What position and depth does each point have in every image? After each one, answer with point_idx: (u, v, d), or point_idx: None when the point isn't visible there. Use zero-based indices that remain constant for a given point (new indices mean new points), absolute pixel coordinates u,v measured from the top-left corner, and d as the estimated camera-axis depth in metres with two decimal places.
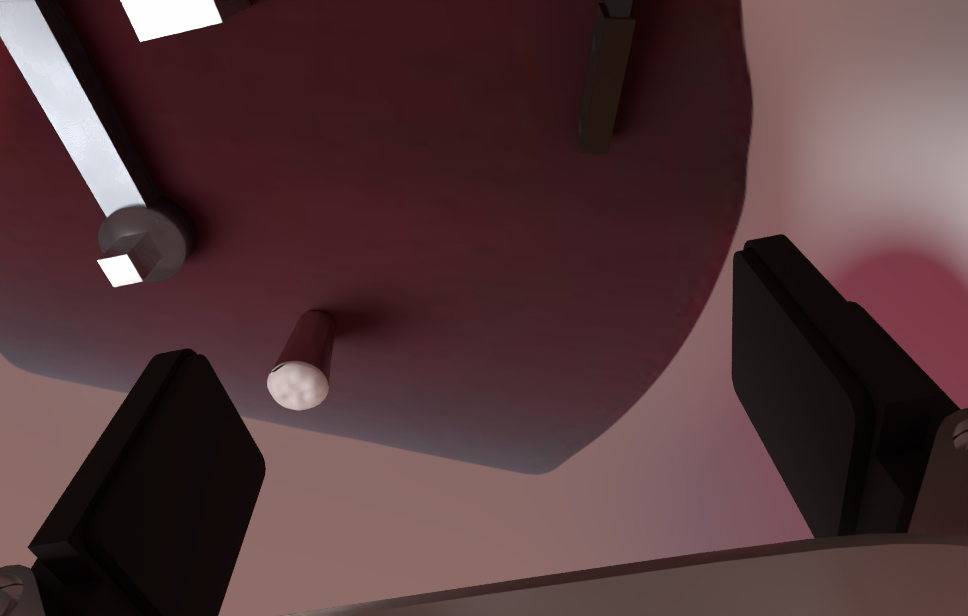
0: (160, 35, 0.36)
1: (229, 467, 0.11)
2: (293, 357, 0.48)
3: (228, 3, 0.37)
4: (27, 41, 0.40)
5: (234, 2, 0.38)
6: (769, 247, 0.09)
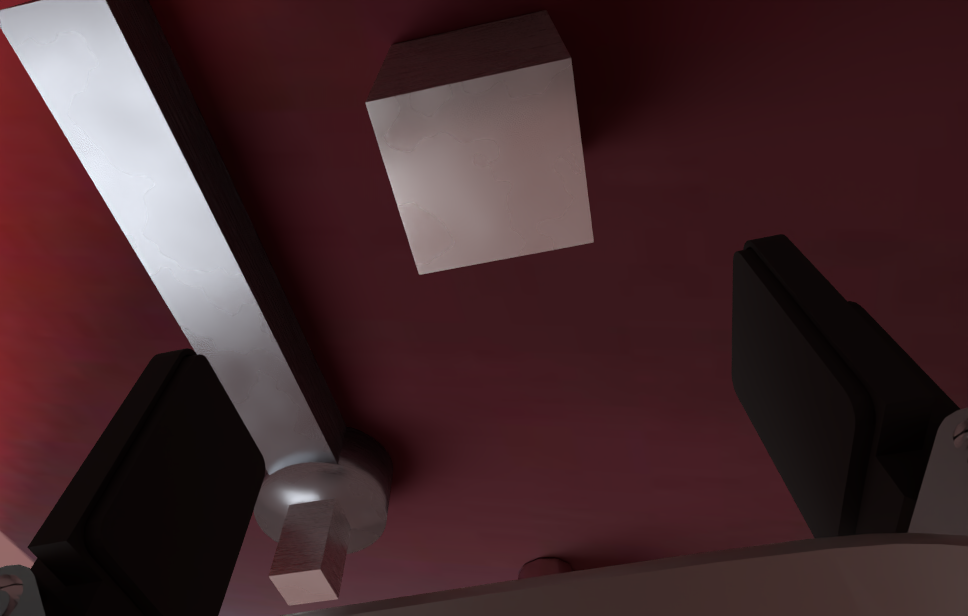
0: (462, 264, 0.18)
1: (229, 467, 0.11)
2: None
3: None
4: (169, 236, 0.21)
5: None
6: (769, 247, 0.09)
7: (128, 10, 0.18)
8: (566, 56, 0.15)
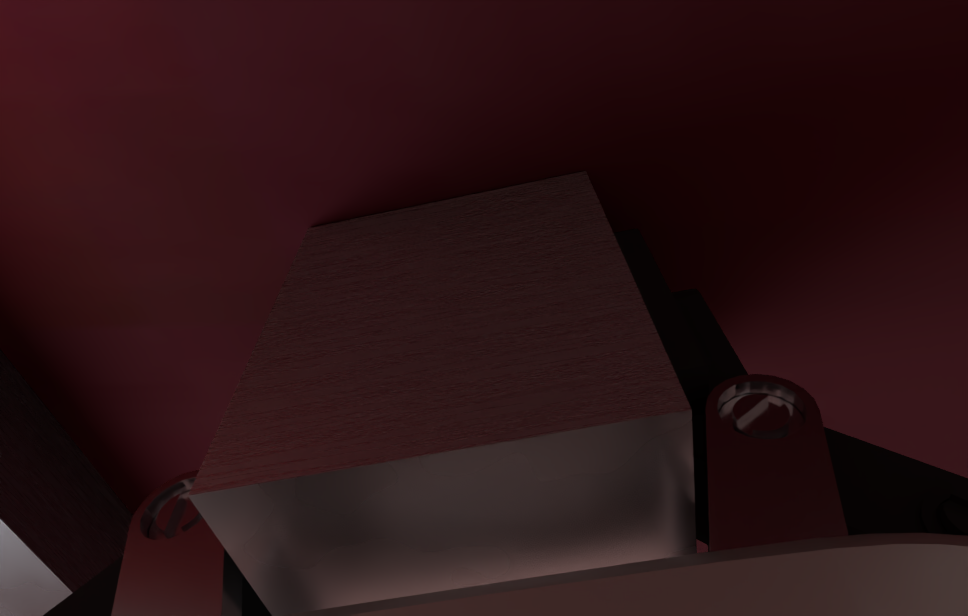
0: None
1: None
2: None
3: None
4: None
5: None
6: (621, 240, 0.11)
7: None
8: (676, 396, 0.06)
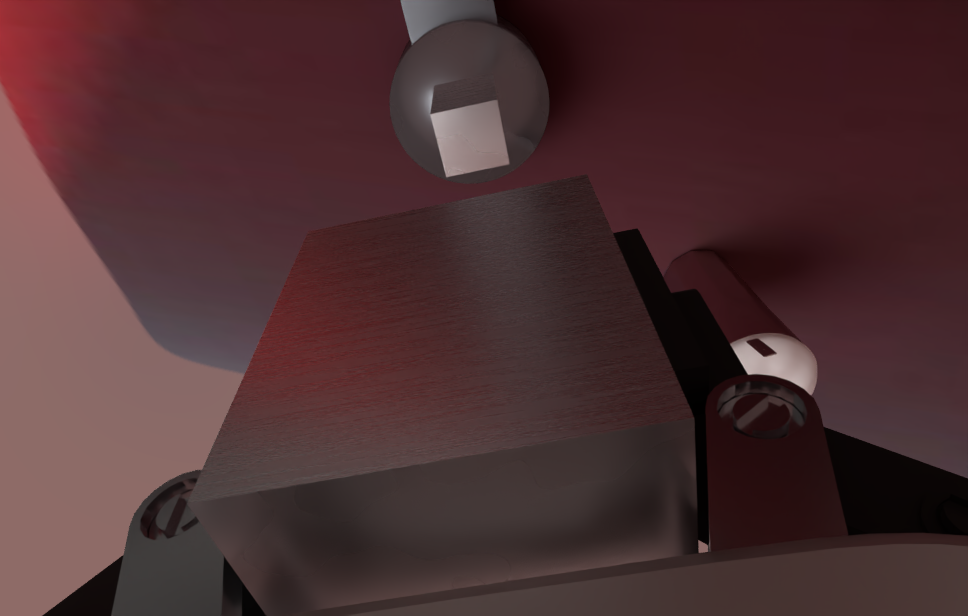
0: None
1: None
2: (759, 326, 0.24)
3: None
4: None
5: None
6: (621, 240, 0.11)
7: None
8: (678, 404, 0.06)
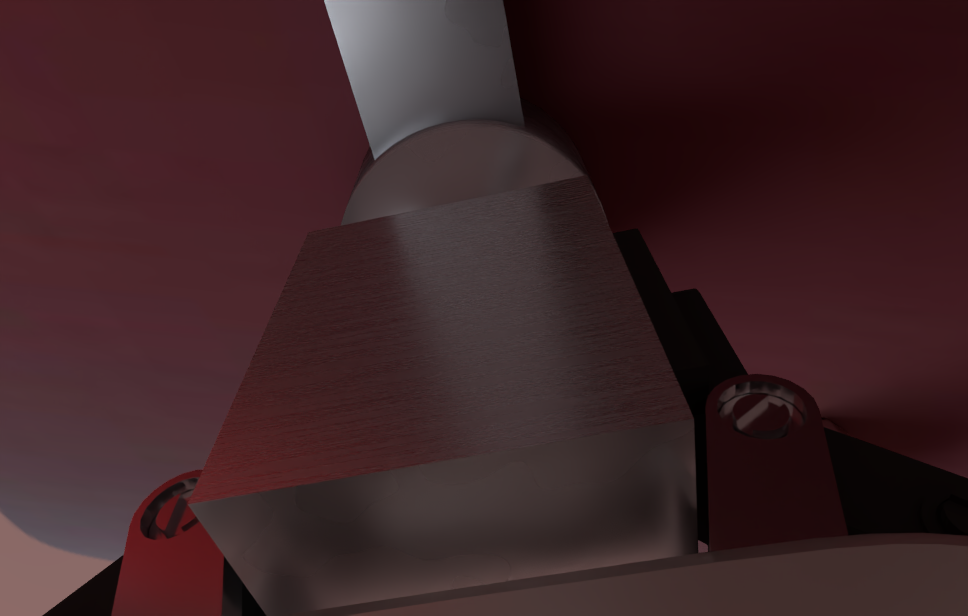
0: None
1: None
2: None
3: None
4: None
5: None
6: (621, 240, 0.11)
7: None
8: (678, 405, 0.06)
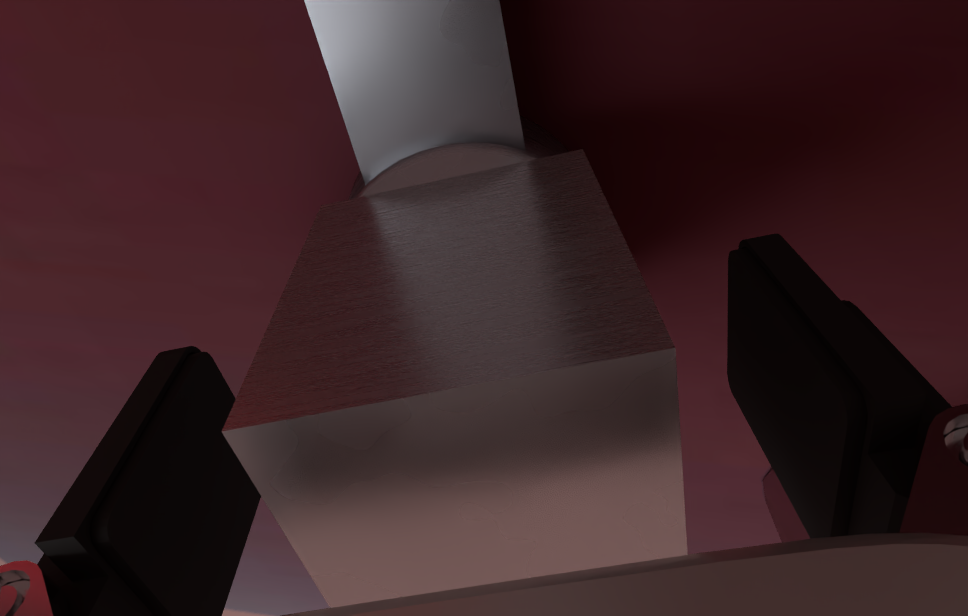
0: None
1: (233, 464, 0.11)
2: None
3: None
4: None
5: None
6: (764, 246, 0.10)
7: None
8: (661, 337, 0.07)
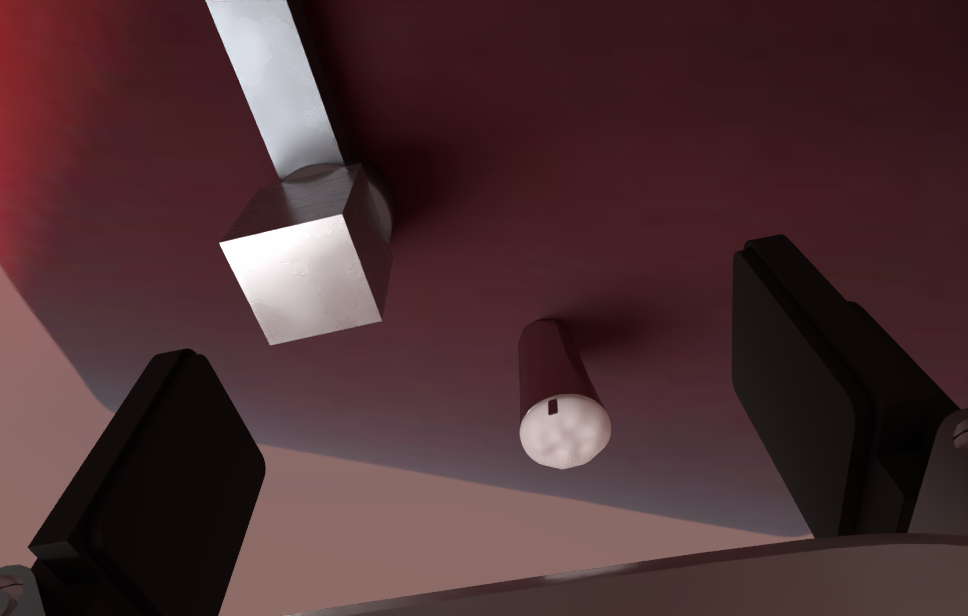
0: (297, 337, 0.27)
1: (229, 467, 0.11)
2: (562, 388, 0.31)
3: (381, 282, 0.28)
4: None
5: (384, 273, 0.29)
6: (769, 247, 0.09)
7: None
8: (340, 212, 0.24)
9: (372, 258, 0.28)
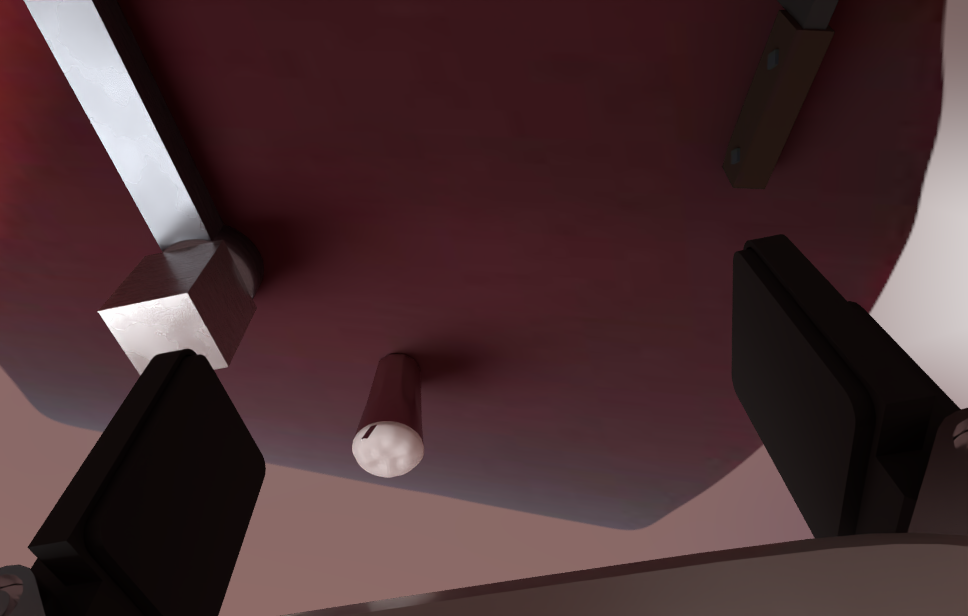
0: None
1: (229, 467, 0.11)
2: (384, 416, 0.40)
3: (234, 334, 0.37)
4: (75, 40, 0.32)
5: (239, 325, 0.38)
6: (769, 247, 0.09)
7: None
8: (187, 291, 0.33)
9: (224, 317, 0.36)
